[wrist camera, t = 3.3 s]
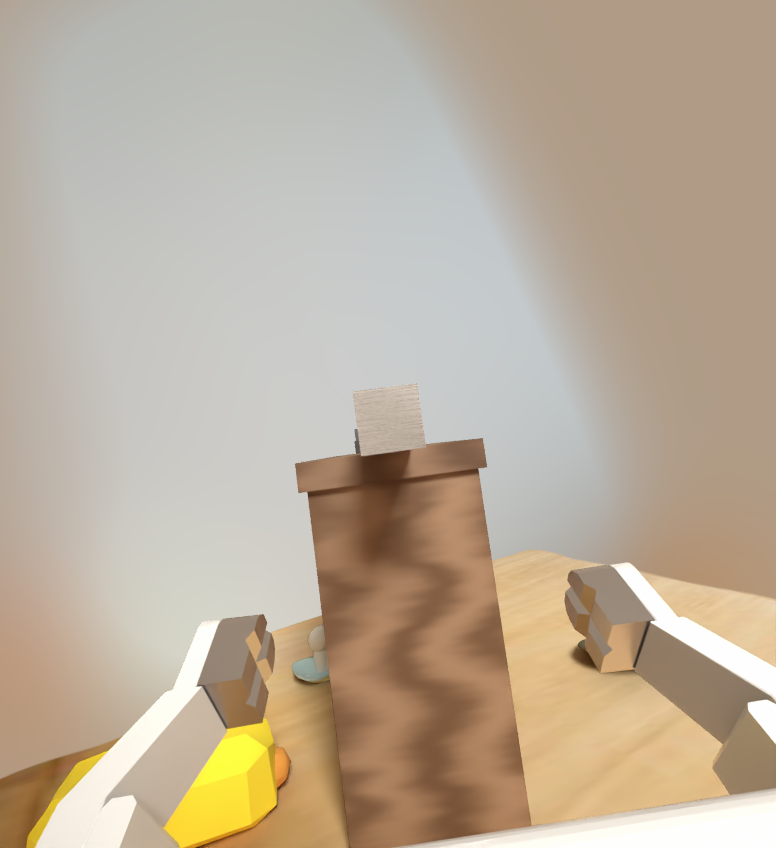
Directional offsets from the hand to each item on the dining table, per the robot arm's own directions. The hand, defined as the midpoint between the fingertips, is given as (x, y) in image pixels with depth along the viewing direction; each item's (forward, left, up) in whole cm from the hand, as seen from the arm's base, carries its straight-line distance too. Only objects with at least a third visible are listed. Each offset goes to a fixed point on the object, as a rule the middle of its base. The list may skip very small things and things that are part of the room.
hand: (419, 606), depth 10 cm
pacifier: (-11, +38, -22) cm, 45 cm away
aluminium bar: (0, +19, +4) cm, 20 cm away
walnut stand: (0, +27, -22) cm, 35 cm away
